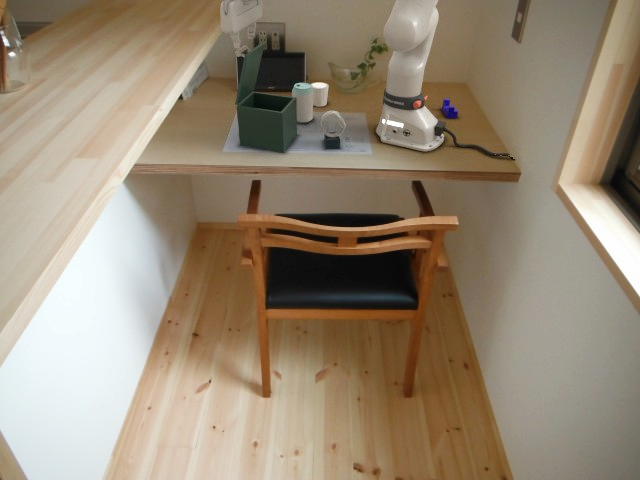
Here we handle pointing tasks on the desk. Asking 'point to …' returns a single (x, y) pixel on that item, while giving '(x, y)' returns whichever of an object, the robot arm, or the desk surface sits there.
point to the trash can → (267, 121)
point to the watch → (332, 137)
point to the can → (303, 101)
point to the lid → (248, 70)
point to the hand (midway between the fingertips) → (244, 43)
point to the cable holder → (449, 109)
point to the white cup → (320, 93)
